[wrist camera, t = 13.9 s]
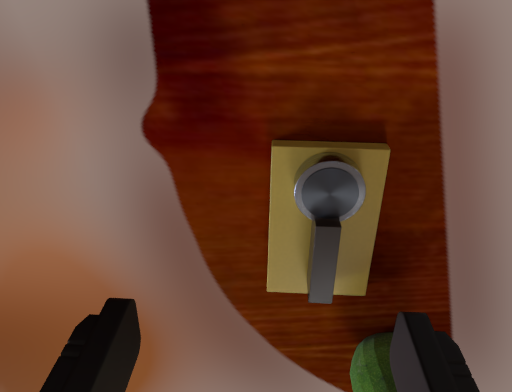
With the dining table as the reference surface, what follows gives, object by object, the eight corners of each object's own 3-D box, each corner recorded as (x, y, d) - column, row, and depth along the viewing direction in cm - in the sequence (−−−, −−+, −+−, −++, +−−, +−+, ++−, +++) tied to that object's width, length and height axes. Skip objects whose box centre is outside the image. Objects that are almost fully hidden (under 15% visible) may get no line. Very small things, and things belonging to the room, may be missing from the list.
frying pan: (295, 150, 37) (296, 166, 34) (366, 152, 37) (373, 168, 34) (287, 279, 44) (288, 301, 41) (347, 282, 43) (352, 304, 41)
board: (272, 139, 38) (271, 146, 37) (387, 143, 38) (390, 149, 36) (267, 282, 46) (266, 291, 44) (362, 286, 45) (365, 296, 44)
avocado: (330, 340, 49) (344, 444, 39) (386, 305, 46) (417, 406, 36) (374, 376, 52) (398, 482, 41) (430, 344, 49) (471, 449, 38)
